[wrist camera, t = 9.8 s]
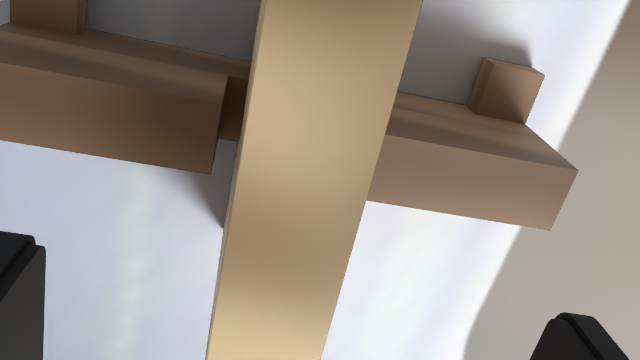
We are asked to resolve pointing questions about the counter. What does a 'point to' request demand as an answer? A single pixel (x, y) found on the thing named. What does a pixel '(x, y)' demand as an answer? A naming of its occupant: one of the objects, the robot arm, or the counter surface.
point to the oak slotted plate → (304, 170)
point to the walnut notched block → (227, 112)
